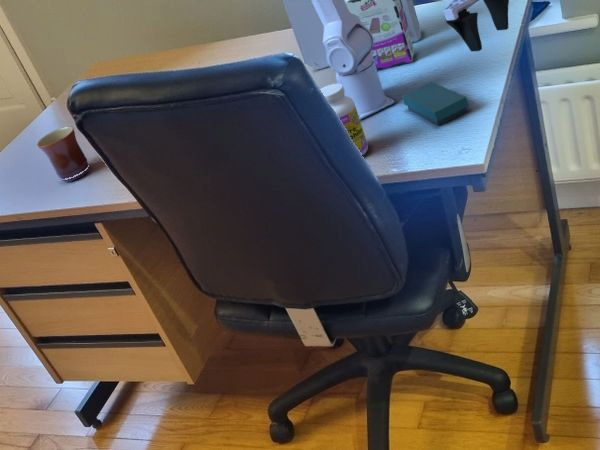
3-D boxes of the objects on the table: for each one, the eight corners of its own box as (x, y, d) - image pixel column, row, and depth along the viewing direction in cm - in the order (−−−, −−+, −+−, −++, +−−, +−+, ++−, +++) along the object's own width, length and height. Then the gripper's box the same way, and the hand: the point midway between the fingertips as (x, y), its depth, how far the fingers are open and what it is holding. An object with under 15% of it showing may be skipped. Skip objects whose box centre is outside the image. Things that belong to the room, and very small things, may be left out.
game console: (422, 40, 174) (398, -47, 165) (308, 73, 182) (279, -8, 172) (421, 31, 179) (398, -53, 169) (310, 64, 186) (282, -16, 177)
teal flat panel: (406, 110, 146) (401, 96, 145) (435, 95, 147) (431, 81, 146) (439, 127, 136) (434, 112, 134) (470, 111, 137) (466, 96, 135)
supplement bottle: (345, 167, 135) (322, 102, 129) (327, 158, 141) (304, 95, 134) (376, 149, 137) (355, 84, 131) (357, 141, 142) (336, 77, 136)
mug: (101, 167, 176) (79, 127, 171) (69, 188, 172) (46, 148, 167) (77, 161, 185) (56, 123, 180) (46, 180, 181) (24, 143, 176)
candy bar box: (415, 53, 169) (395, -20, 161) (413, 62, 165) (392, -12, 157) (367, 64, 173) (344, -6, 165) (363, 74, 169) (340, 2, 161)
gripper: (457, -18, 123) (482, 59, 129) (511, -57, 129) (533, 18, 135) (425, -14, 128) (450, 60, 134) (479, -52, 134) (500, 21, 140)
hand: (489, 39), depth 135 cm, fingers open, 7 cm apart
